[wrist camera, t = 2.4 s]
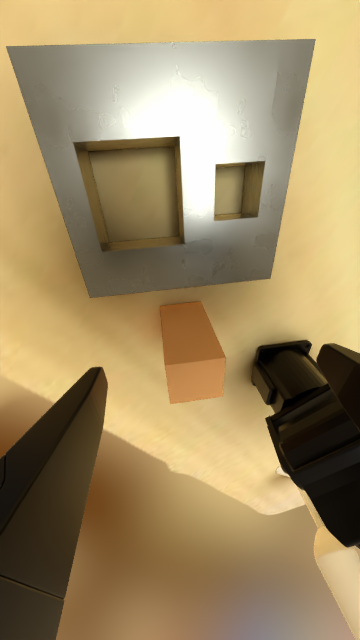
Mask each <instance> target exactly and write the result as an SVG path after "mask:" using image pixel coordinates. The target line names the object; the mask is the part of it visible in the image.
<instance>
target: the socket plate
mask: <svg viewBox="0 0 360 640" xmlns="http://www.w3.org/2000/svg"><path fill="white" fill-rule="evenodd" d="M315 40H316V39H297V40H254V41H212V42H170V43H128V44H86V45H44V46H6V48H7V51H8V54H9V57H10V60H11V63H12V66H13V69H14V72H15V75H16V78H17V81H18V84H19V87H20V90H21V93H22V96H23V99H24V102H25V105H26V108H27V111H28V114H29V117H30V120H31V123H32V126H33V129H34V131H35V134H36V137H37V140H38V143H39V146H40V149H41V152H42V155H43V158H44V161H45V164H46V167H47V170H48V173H49V176H50V179H51V182H52V185H53V188H54V191H55V194H56V197H57V200H58V203H59V206H60V209H61V212H62V215H63V218H64V221H65V224H66V227H67V230H68V233H69V236H70V239H71V242H72V245H73V248H74V251H75V254H76V257H77V260H78V263H79V266H80V269H81V272H82V275H83V278H84V281H85V284H86V287H87V290H88V293H89V296H90V298H93V297H103V296H112V295H121V294H131V293H140V292H149V291H159V290H168V289H177V288H187V287H196V286H205V285H215V284H224V283H233V282H243V281H252V280H261V279H270V278H271V272H272V267H273V262H274V257H275V251H276V246H277V241H278V235H279V230H280V225H281V220H282V214H283V209H284V204H285V198H286V193H287V188H288V182H289V177H290V172H291V167H292V161H293V156H294V151H295V145H296V140H297V135H298V130H299V124H300V119H301V114H302V108H303V103H304V98H305V93H306V87H307V82H308V77H309V71H310V66H311V61H312V56H313V50H314V45H315ZM166 146H174V148H175V166H176V183H177V200H178V217H179V234H180V236H174V237H163V238H152V239H140V240H129V241H118V242H109V239H108V235H107V231H106V226H105V222H104V218H103V214H102V210H101V205H100V201H99V197H98V193H97V189H96V184H95V180H94V176H93V172H92V168H91V163H90V159H89V155H88V151H97V150H114V149H132V148H149V147H166ZM233 166H246V167H245V178H244V189H243V200H242V211H241V213H235V214H223V215H214V201H215V168H218V167H233Z"/></svg>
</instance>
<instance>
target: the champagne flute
mask: <svg viewBox="0 0 360 640" xmlns="http://www.w3.org/2000/svg"><path fill="white" fill-rule="evenodd" d="M276 473H277V474H280V475H283V476H286V477H289V478H290V476H289V475H288V474H286V473H284V471H283V470H282V468H281V466H280V467H279V468H277V470H276ZM297 487H298V486H297ZM298 489H299V491H300V493H301V495H302V497H303V499H304V502H305V504H306V505H307V507H308V510H309V512H310V514H311V516H312V518H313V520H314V522H315V524H316V526H317V528H318V531H317V533H316V537H315V542H314V558H315V561H316V563H317V565H318V567H319V569H320V571H321V572H322V574H323V576H324V578H325V581H326V582H327V584H328V586H329V588H330V590H331V592H332V594H333V596H334V598H335V600H336V602H337V604H338V606H339V608H340V610H341V612H342V614H343V616H344V618H345V619H346V622H347V624H348V625H349V627H350V629H351V631H352V633H353V635H354V637H355V639H356V640H360V558H359V556H358V555H357V553H356V550H355V549H354V548H353V547H348V548H347V547H345V546H344V545H342V544H341V543H340V542H339V541H338V540H337V539H336V538H335V537H334V536H333V535H332V534H331V533H330V532H329V531H328V529H327V528H325V527H324V525H323V524H322V522H321V520H320V518H319V516H318V514H317V512H316V510H315V508H314V506H313V504H312V502H311V500H310V498H309V496H308V495H307V493H306V492H305V491H303V490H301V489H300V488H299V487H298Z"/></svg>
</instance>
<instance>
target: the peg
mask: <svg viewBox="0 0 360 640" xmlns="http://www.w3.org/2000/svg"><path fill="white" fill-rule="evenodd" d="M160 313H161V325H162V337H163V349H164V361H165V370H166V377H167V384H168V391H169V398H170V404H174V403H181V402H188V401H195V400H201V399H208V398H215V397H222V396H223V386H224V374H225V362H226V357H225V355H224V352H223V350H222V348H221V346H220V343H219V341H218V339H217V337H216V335H215V332H214V330H213V328H212V326H211V323H210V321H209V319H208V317H207V314H206V312H205V310H204V308H203V306H202V303H201V301H200V302H191V303H182V304H173V305H164V306H160Z"/></svg>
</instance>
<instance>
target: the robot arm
mask: <svg viewBox="0 0 360 640" xmlns="http://www.w3.org/2000/svg"><path fill="white" fill-rule="evenodd" d="M311 346H312V344H311V343H310V342H309V341H301V342H293V343H285V344H278V345H270V346H262V347H260V348H258V350H257V355H256V361H255V363H254V366H253V372H252V381H251V382H252V384H253V386H256V387H257V389H258V391H259V393H260V394H261V396H262V398H263V400H264V402H265V404H267V405H271V407H272V409H273V410H274V412H275V414H274V415H272V416H269V417H267V418H265V419H266V422H267V425H268V426H267V427H268V430H269V433H270V436H271V439H272V442H273V444H274V447H275V450H276V453H277V456H278V459H279V462H280V465H281V468H282V470H283V471H284V473H286V474H288V475H289V476H290V478H291V479H292V481H293V482H294V483H295V484H296V485H297V486H298V487H299V488H300V489H301V490H303V491H305V492H306V493H307V495H308V496H309V498H310V500H311V501H312V503H313V505H314V507H315V508H316V510H317V512H318V514H319V515H320V517H321V519H322V521H323V522H324V524H325V526H326V528H327V529H328V531H329V532H330V533H331V534H332V535H333V536H334V537H335V538H336V539H337V540H338V541H339V542H340V543H341V544H342V545H344V546H345V547H347V548H348V547H352V546H354V545H355V546H357V547H358V548H359V549H360V353H357V352H355V351H352V350H350V349H347V348H345V347H342V346H340V345H337V344H334V343H330V344H324V345H323V346H322V347H321V349H320V352H319V354H318V356H317V360H316V361H317V363H316V362H315V361H314V360H313V359H312V358H311V356H310V355H309V351H310V349H311ZM107 388H108V383H107V379H106V376H105V373H104V370H103V368H102V367H92V368H90V369H89V370H88V371H87V372H86V373H85V374H84V375H83V376H82V377H81V378H80V379H79V380H78V381H77V382H76V383H75V384H74V385H73V386H72V387H71V388H70V389H69V390H68V391H67V392H66V393H65V394H64V395H63V396H62V397H61V398H60V399H59V400H58V401H57V402H56V403H55V404H54V405H53V406H52V407H51V408H50V409H49V410H48V411H47V412H46V413H45V414H44V415H43V416H42V417H41V418H40V419H39V420H38V421H37V422H36V423H35V424H34V425H33V426H32V427H31V428H30V429H29V430H28V431H27V432H26V433H25V434H24V435H23V436H22V437H21V438H20V439H19V440H18V441H17V442H16V443H15V444H14V445H13V446H12V447H11V448H10V449H9V450H8V451H7V452H6V455H3V456H2V457H1V458H0V640H56V636H57V632H58V627H59V622H60V618H61V614H62V609H63V605H64V598H65V595H66V591H67V586H68V582H69V577H70V573H71V568H72V564H73V559H74V555H75V550H76V546H77V541H78V537H79V533H80V528H81V524H82V519H83V515H84V510H85V505H86V501H87V497H88V492H89V488H90V483H91V479H92V475H93V470H94V466H95V460H96V457H97V452H98V448H99V443H100V439H101V434H102V430H103V424H104V416H105V407H106V397H107Z"/></svg>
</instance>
